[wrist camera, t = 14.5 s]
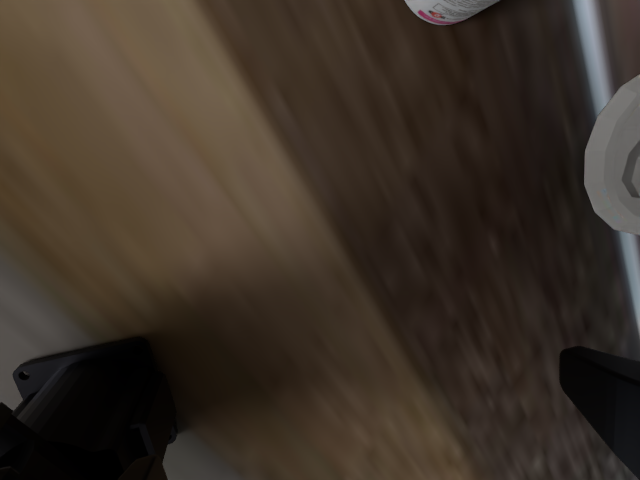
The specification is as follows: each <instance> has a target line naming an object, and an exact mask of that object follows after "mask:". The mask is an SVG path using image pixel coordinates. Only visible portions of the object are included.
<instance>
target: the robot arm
mask: <svg viewBox="0 0 640 480" xmlns="http://www.w3.org/2000/svg"><path fill="white" fill-rule="evenodd" d="M136 345H139V346H141V347H142V348H143V350H137V349H136V348H135V346H136ZM23 371H26V372H28V373H29V374H30V376H27V375H25V374H24V373H23ZM13 378H14V381H15V383H16V385H17V387H18V390H19V392H20V394H21V396H22V398H23V401H22V402H21V403H20V404H19V406H18V407H17V408H16V409H15V410H14V411H13V410H11V409H10V408H9V407H7V406H6V405H5V404H3V403H2V402H1V403H0V480H168V479H167V476H166V473H165V470H164V468H163V465H162V462H163V459H164V455H165V451H166V448H167V445H168V444H171V443H173V442H174V441H175V439H176V437H177V433H178V430H177V426H176V423H175V420H174V419H175V415H176V408H175V405H174V402H173V399H172V396H171V393H170V389H169V386H168V383H167V380H166V377H165V374H163V373H162V372H160V371H158V368H157V365H156V362H155V359H154V356H153V353H152V350H151V347H150V344H149V342H148V341H147V340H146V339H145V338H142V337H137V338H132V339H128V340H123V341H119V342H115V343H110V344H106V345H101V346H97V347H92V348H88V349H83V350H79V351H74V352H70V353H66V354H61V355H57V356H52V357H48V358H43V359H39V360H34V361H30V362H26V363H23V364H21V365H20V366H19V367H18V368H17V369H16V370H15V371H14V372H13ZM559 380H560V385H561V387H562V389H563V391H564V392H565V394H566V395H567V396H568V397H569V399H570V400H571V401H572V402H573V404H574V405H575V406H576V407H577V409H578V410H579V411H580V412H581V413H582V415H583V416H584V417H585V418H586V420H587V421H588V422H589V423H590V425H591V426H592V427H593V428H594V430H595V431H596V432H597V433H598V434H599V436H600V437H601V438H602V439H603V441H604V442H605V443H606V444H607V445H608V447H609V448H610V449H611V450H612V451H613V452H614V453H615V455H616V456H617V457H618V458H619V459H620V460H621V461H622V462H623V463H624V464H625V465H626V466H627V467H628V468H629V470H630V471H631V472H632V473H633V474H634V475H635V476H636V477H637V478H638V479H639V480H640V362H639V361H636V360H632V359H628V358H624V357H620V356H617V355H613V354H609V353H605V352H601V351H597V350H594V349H590V348H586V347H582V346H575V347H571V348H567V349H564V350H562V351H561V353H560V363H559ZM170 434H171V435H170Z"/></svg>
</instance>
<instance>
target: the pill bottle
mask: <svg viewBox="0 0 640 480" xmlns="http://www.w3.org/2000/svg"><path fill="white" fill-rule="evenodd" d="M498 1H500V0H405V2H406V3H407V5H408V6H409V8H410V9H411V10H412V11H413V12H414V13H415V14H416V15H417V16H418V17H420V18H421V19H423V20H425V21H427V22H429V23H432V24H437V25H450V24H455V23H458V22H461V21H463V20H466V19H467V18H469V17H471V16H473V15H475V14H476V13H478V12H480V11H482V10H484V9H485V8H487V7H489V6H491V5H493V4H494V3H496V2H498Z"/></svg>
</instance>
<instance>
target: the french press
mask: <svg viewBox="0 0 640 480" xmlns="http://www.w3.org/2000/svg"><path fill="white" fill-rule="evenodd" d="M584 185H585V188H586V191H587V193H588V196H589V199H590V201H591V204H592V207H593V209H594V212H595V213H596V214H597V215H598V216H600V217H601V218H602V219H603V220H604V221H605V222H606V223H607V224H608V225H609V226H611V227H612V228H613V229H614V230H618V231H622V232H627V233H631V234H635V235H640V74H639V75H638V76H636V77H635V78H633V79H632V80H630V81H629V82H627V83H625V84H624V85H622V86H621V87H620V88H619V90H618V91H617V92H616V93H615V95H614V96H613V97H612V99H611V100H610V101H609V102H608V104H607V105H606V106H605V108H604V109H603V110H602V111H601V113H600V114H599V115H598V117H597V120H596V123H595V125H594V128H593V131H592V133H591V136H590V139H589V141H588V144H587V147H586V150H585V171H584Z"/></svg>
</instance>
